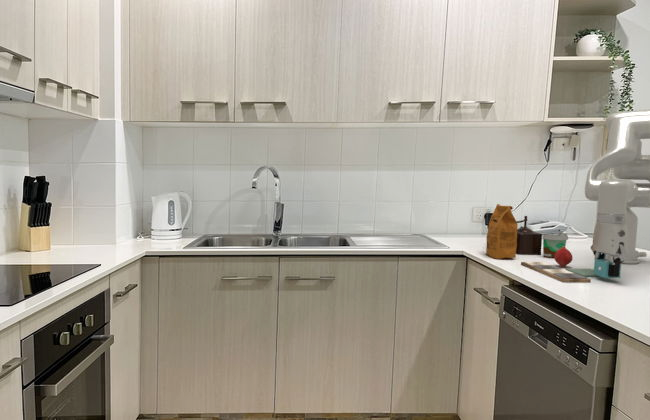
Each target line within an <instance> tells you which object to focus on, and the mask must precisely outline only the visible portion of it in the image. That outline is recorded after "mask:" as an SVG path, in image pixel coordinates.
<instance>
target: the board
mask: <svg viewBox="0 0 650 420" xmlns="http://www.w3.org/2000/svg"><path fill="white" fill-rule="evenodd" d="M520 265H521V266H523V267H526V268H529V269H531V270H533V271H535V272H537V273H540V274H542V275H545V276H547V277H550V278H552V279H555V280H557V281H558V282H562V283H591V282H592V279H591V278H590V277H584V276H581V275H578V274H575V273H573V272H570V271H567V270H566V269H565V268H564V269H563V267H559V266H556V265H553V264H550V263H548V262H545V261H521V262H520Z"/></svg>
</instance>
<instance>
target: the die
mask: <svg viewBox="0 0 650 420" xmlns="http://www.w3.org/2000/svg"><path fill="white" fill-rule="evenodd" d="M609 264H611V262H610V259H595V258H594V264H593V266H594V267H593V270H594V274H595V275H598V276H601V277H600V278H604V279H621V270H622V264H621V265H620V271H619V277H609V276H608V271H609Z"/></svg>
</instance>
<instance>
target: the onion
mask: <svg viewBox="0 0 650 420" xmlns="http://www.w3.org/2000/svg"><path fill="white" fill-rule="evenodd" d="M566 247H567V246H563V247H562V248H561V249H559V250H558V251H557V252H556V253H555V255H554V261H555V262H556V263H557V264H558V265H559V266H560V268H564V267H566V266H567V265H569V264H570V263H572V261H573V255H572V254H573V253H571V251H570V250H569V249H567V248H566Z"/></svg>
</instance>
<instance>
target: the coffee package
mask: <svg viewBox="0 0 650 420" xmlns="http://www.w3.org/2000/svg"><path fill="white" fill-rule="evenodd" d="M513 209H514V208H513V206H512V205H501V204H500V203H498V204H496V207H495V208H494V210H493V212H492V215H491V217H490V219H489V223H488V227H487V233H486V247H485V248H486V249H485V250H486V251H485V252H486V253H485V254H486V255H487V256H489V257H490V258H492V259H496V260H502V259H515V258H516V255H517V254H516V247H517V241H516V240H517V229H518V226H519V225H518V224H519V223H517V222H516V221H517V220H516V218H515V216H514V214H513V212H512V210H513Z"/></svg>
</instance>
